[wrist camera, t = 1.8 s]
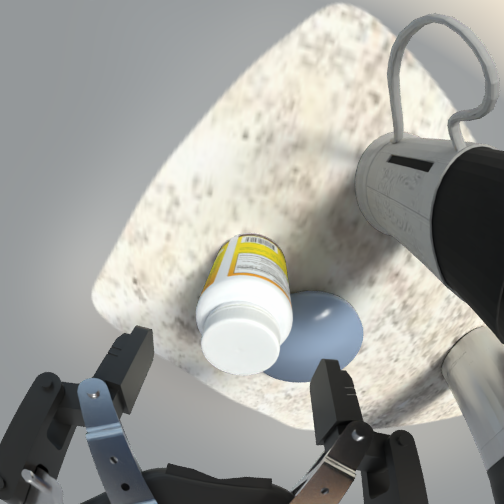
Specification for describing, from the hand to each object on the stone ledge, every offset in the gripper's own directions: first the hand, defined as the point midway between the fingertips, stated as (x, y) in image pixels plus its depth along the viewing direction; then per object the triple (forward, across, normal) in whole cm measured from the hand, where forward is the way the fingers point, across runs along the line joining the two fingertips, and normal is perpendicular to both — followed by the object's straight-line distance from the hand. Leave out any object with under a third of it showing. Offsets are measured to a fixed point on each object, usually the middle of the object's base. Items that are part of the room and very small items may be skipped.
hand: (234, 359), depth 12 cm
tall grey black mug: (+11, -9, -11) cm, 18 cm away
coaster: (+11, -7, +7) cm, 15 cm away
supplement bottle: (+11, 0, 0) cm, 11 cm away
